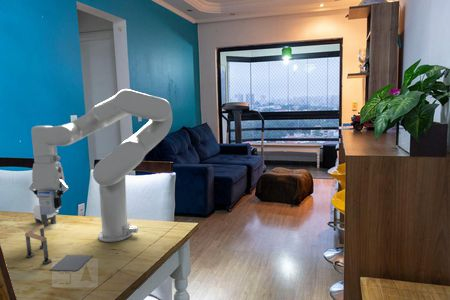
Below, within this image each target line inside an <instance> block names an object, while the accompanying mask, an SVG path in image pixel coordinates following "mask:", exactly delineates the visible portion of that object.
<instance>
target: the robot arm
mask: <svg viewBox="0 0 450 300" xmlns="http://www.w3.org/2000/svg"><path fill="white" fill-rule="evenodd" d="M129 115H130V116H133V117H137V118H141V119H146V120H148V122H146V124H144V125H143V126H142V127H141V128H139V130H138V131H137V132H135V133H134V134H132V135H131V136H130V137H128V138H127V139H125V140H123V142H121V143H120V144H119V145H118V146H117V147H115V148H114V149H113V150H112V151H110V153H108V154H107V155H106V156H104V157H103V158H101V159H100V160H99V161H98V162H97V163H96V164H95V165H94V168H93V169H92V175H93V176H92V177H93V180H94V181H95V182H96V183H97V184H98V185H99V187H98V190H99V204H100V205H99V206H100V219H101V220H100V221H101V231H100V232H99V233H98V236H97V237H98V240H99V241H101V242H106V243H114V242H119V241H123V240H126V239H128V238H130V237H131V236H132V235H133V234H135V233H136V234H137V233H138V232H139V228H138V226H137V225H131V222H130V221H128V212H127V211H128V210H127V208H128V207H127V190H126V187H127V186H126V176H127V175H128V174H129V173H130V172H132V171H133V170H134V169H136V167H137V166H139V165H140V164H141V163H142V162H143V160H144V158H145V157H146V155H148V153H149V152H150V151H152V149H154V148H155V147H156V146H157V145H158V144H159V143H161V142H162V140H164V139H165V138H166V136H167V135H168V133H169V132H170V130H171V127H172V124H173V111H172V106H171V104H170V102H169V101H168V100H167V99H165V98H162V97H159V96H155V95H150V94H147V93H143V92H139V91H136V90H132V89H128V88H125V89H121V90H120V91H118V92H117V93H116V94H115V95H113V96H112V97H110V98H108V99H106V100H104V101H102V102H100V103H98V104H96V105H94V106H93V107H91V109H90V110H89V111H88V112H86V113H85V114H83V115H82V116H80V117H78V118H77V119H74V120H72V121H70V122H69V123H64V124H61V125H57V126H56V125H54V126H52V125H35V126H33V127H31V131H30V133H31V141H32V150H33V159H34V160H33V161H34V163H33V165H32V173H31V177H32V178H31V179H32V183H31V185H30V186H29V188H28V189H29V190H30V191H31V192H32V193H33V194H34V195H35V196H36V198H37V199H39V195H38V192H39V191H41V190H53V193H54V195H55V198H54V207H55V209H57V208H59V207H61V208H62V196H63V195H64V193H65V192H66V191H68V190H69V186H68V185H67V184H66V180H65V176H64V175H65V174H64V171H63V170H64V169H63V166H62V164H61V162H60V160H61V156H59V155H58V147H57V146H59V147H66V146H70V145H72V144H74V143H76V142H78V141H81V140H82V139H85V137H88V136H90V135H91V134H93V133H95V132H98V131H99V130H102V129H105V128H106V127H109V126H111V125H112V124H114V123H116V122H118V121H120V120H121V119H123V118H126V117H127V116H129ZM59 209H60V208H59Z"/></svg>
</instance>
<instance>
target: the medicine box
mask: <svg viewBox="0 0 450 300" xmlns="http://www.w3.org/2000/svg"><path fill="white" fill-rule="evenodd" d="M38 195H39V198H38V204H39V205H40V214H41V215H49V214H53V213H54V212H56V211H57V210H58V211H59V210H60V208H62V206H61V207H59V208H57V209H55V207H54V198H55V195H54V193H53V190H41V191H39V192H38Z"/></svg>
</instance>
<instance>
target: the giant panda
mask: <svg viewBox="0 0 450 300" xmlns="http://www.w3.org/2000/svg"><path fill="white" fill-rule="evenodd" d="M32 213H33V214H32V215H33V217H34V220H35V223H36V224H38V225H39V224H40V225H41V224H42V225H44V227H49V223H48V222H49V220H50V224H53V225H54V224H57V220H56V216H57V214H59V209H58V210H57V211H56V212H54V213H53V214H49V215H41V214H40V205H39V203H38V204H36V205H35V206H34V207H33V212H32Z"/></svg>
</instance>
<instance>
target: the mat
mask: <svg viewBox="0 0 450 300" xmlns="http://www.w3.org/2000/svg"><path fill="white" fill-rule="evenodd" d="M92 257H93V255H87V254H86V255H84V254H81V255H78V254H66V255H65V256H64V257H62V258H61V259H60V260H59V261H58V262H56V263H55V264H54V265H53V266H52V267H51V268H49V271H51V272H52V271H54V272H55V271H56V272H60V271H61V272H78V271H80V269H82V267H84V265H85V264H86V263H87V262H88V261H89V260H90V259H91V258H92ZM73 270H75V271H73Z"/></svg>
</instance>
